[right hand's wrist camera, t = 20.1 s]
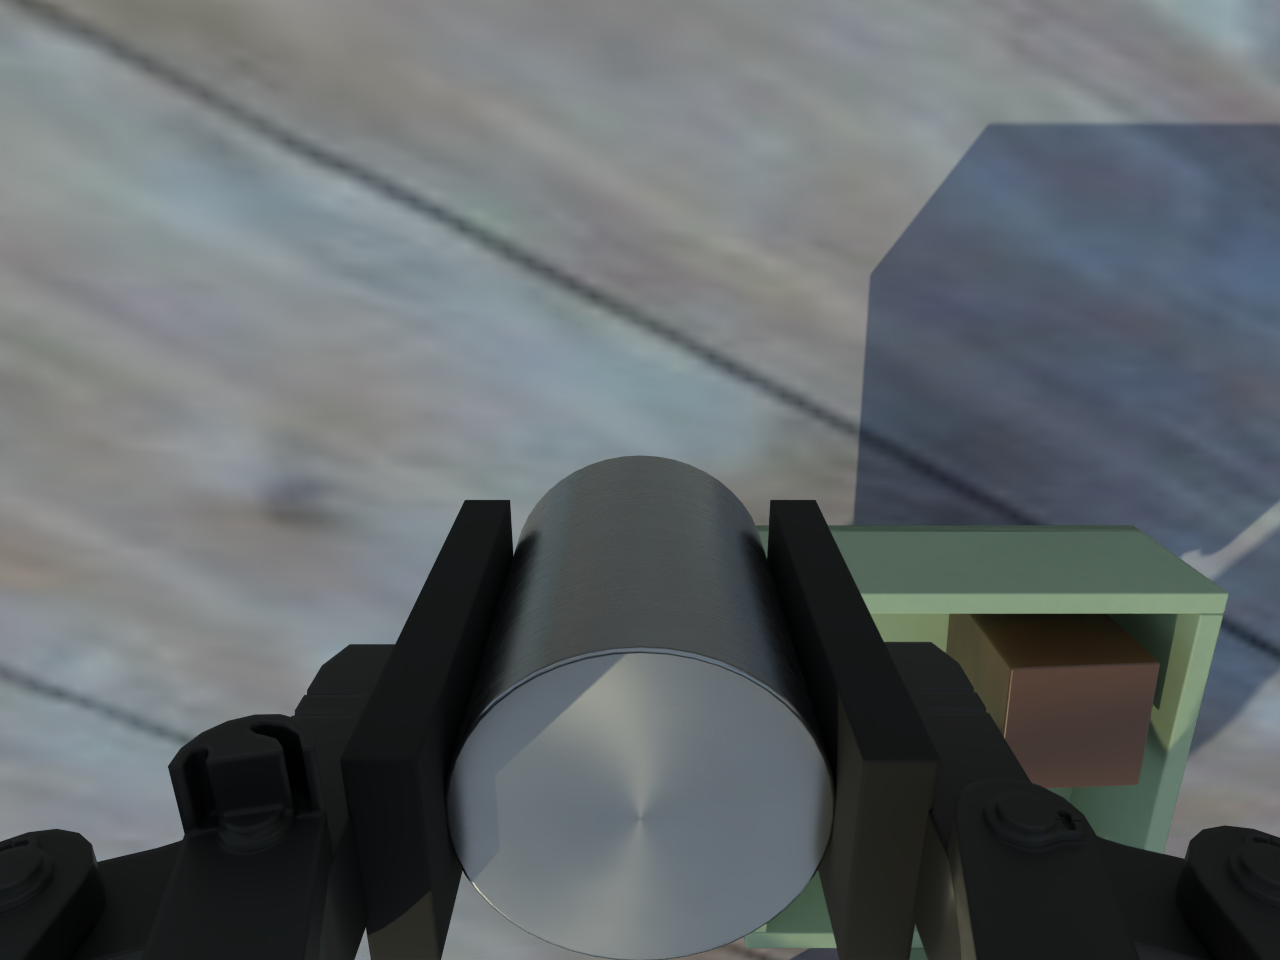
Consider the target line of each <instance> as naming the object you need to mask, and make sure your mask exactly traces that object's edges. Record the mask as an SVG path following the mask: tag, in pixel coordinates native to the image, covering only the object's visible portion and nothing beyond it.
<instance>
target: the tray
mask: <svg viewBox="0 0 1280 960" xmlns="http://www.w3.org/2000/svg"><path fill="white" fill-rule="evenodd" d="M756 527H757V529H758V532H759V535H760V538H761V541H762V545H763V548H764V551H765V554H766V558H767V550H768V533H769V526H756ZM828 527H829V529H830V531H831V533H832V535H833V538H834V540H835V542H836V544H837V546H838V548H839V550H840V552H841V554H842V556H843V558H844V560H845V562H846V564H847V567H848V569H849V571H850V573H851V575H852V577H853V579H854V581H855V583H856V585H857V587H858V589H859V591H860V593H861V596H862V598H863V600H864V602H865V604H866V606H867V608H868V610H869V612H870V614H871V616H872V618H873V620H874V622H875V625H876V627H877V629H878V631H879V633H880V635H881V637H882V639H883V641H884V642H932V643H933V644H935V645H936V646H937V647H938V648H940V649H941V650H942V651H944V652H945V653H946V648H947V636H948V625H949V614H1108V615H1109V616H1110V617H1111V618H1112V619H1114V620H1115V621H1116V622H1117V623H1118V624H1119V625H1120V626H1121V627H1122V628H1123V629H1124V630H1125V631H1126V632H1127V633H1128V634H1130V635H1131V636H1132V637H1133V638H1134V639H1135V640H1136V641H1137V642H1138V643H1139V644H1140V645H1141V646H1142V647H1143V648H1144V649H1146V650H1147V651H1148V652H1149V653H1150V654H1151V655H1152V656H1153V657H1154V658H1155V659H1156V660H1157V661H1158V662H1159V663H1160V667H1159V673H1158V679H1157V684H1156V690H1155V695H1154V701H1153V706H1152V712H1151V717H1150V723H1149V728H1148V734H1147V739H1146V745H1145V750H1144V756H1143V762H1142V767H1141V773H1140V778H1139V784H1138V785H1129V786H1100V787H1072V788H1046V789H1048V790H1050V791H1052V792H1054V793H1056V794H1058V795H1060V796H1062V797H1064V798H1065V799H1066V800H1067V801H1068V802H1070V803H1071V804H1072V805H1073V806H1074V807H1075V808H1077V809H1078V810H1079V811H1080V812H1081V813H1083V814H1084V816H1085V817H1086V819H1087V821H1088V822H1089V824H1090V826H1091V827H1092V829H1093V830H1094V832H1095V834H1096V836H1098V837H1101V838H1103V839H1107V840H1110V841H1113V842H1116V843H1120V844H1123V845H1127V846H1131V847H1135V848H1140V849H1144V850H1148V851H1153V852H1157V853H1161V854H1164V850H1165V846H1166V842H1167V838H1168V834H1169V830H1170V826H1171V822H1172V818H1173V814H1174V810H1175V806H1176V802H1177V798H1178V794H1179V790H1180V786H1181V782H1182V778H1183V774H1184V770H1185V766H1186V762H1187V758H1188V754H1189V750H1190V746H1191V742H1192V738H1193V734H1194V730H1195V726H1196V722H1197V718H1198V714H1199V710H1200V706H1201V702H1202V698H1203V694H1204V690H1205V686H1206V682H1207V678H1208V674H1209V670H1210V666H1211V662H1212V658H1213V654H1214V650H1215V646H1216V642H1217V638H1218V634H1219V631H1220V627H1221V623H1222V619H1223V614H1222V613H1224V611H1225V607H1226V603H1227V599H1228V595H1229V593H1228V592H1227V591H1225V590H1224V589H1222V588H1221V587H1219V586H1218V585H1217V584H1215V583H1214V582H1212V581H1211V580H1210V579H1208V578H1207V577H1205V576H1204V575H1203V574H1201V573H1200V572H1198V571H1197V570H1196V569H1194V568H1193V567H1191V566H1190V565H1189V564H1187V563H1186V562H1184V561H1183V560H1181V559H1180V558H1179V557H1177V556H1176V555H1174V554H1173V553H1172V552H1170V551H1169V550H1167V549H1166V548H1165V547H1163V546H1162V545H1160V544H1159V543H1158V542H1156V541H1155V540H1153V539H1152V538H1150V537H1149V536H1148V535H1146V534H1145V533H1143V532H1142V531H1141V530H1139V529H1138V528H1136V527H1135V526H1133V525H842V526H828ZM744 939H745V946H746V948H837V947H836V942H835V938H834V934H833V930H832V926H831V922H830V918H829V914H828V909H827V905H826V901H825V897H824V893H823V889H822V885H821V881H820V876H819V872H818V870H817V872H816V874H815V876H814V877H813V878H812V880H811V881H810V882H809V884H808V885H807V886H806V888H805V889H804V890H803V892H802V893H801V894H800V895H799V896H798V897H797V898H796V899H795V900H794V901H793V902H792V903H791V904H790V905H789V906H788V907H787V908H786V909H785V910H784V911H782V912H781V913H780V914H779V915H777V916H776V917H775V918H774V919H772V920H771V921H770V922H768V923H767V924H765V925H763V926H762V927H760V928H759V929H757V930H755V931H754V932H752V933H750V934H748V935H746V936H744ZM910 960H928V959H927V956H926V953H925V950H924V948H923V945H922V942H921V939H920V936H919V933H918V930H917V928H916V925H915V928H914V934H913V941H912V947H911V954H910Z"/></svg>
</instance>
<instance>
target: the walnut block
mask: <svg viewBox="0 0 1280 960" xmlns="http://www.w3.org/2000/svg"><path fill="white" fill-rule="evenodd" d="M946 654H948V655H949V656H950V657H952V658H953V659H954V660H956V661H957V662H958V663H959V664H960V666H961V667H962V669H963V671H964V672H965V674H966V676H967V677H968V679H969V680H970V682H971V684H972V685H973V687H974V692H977V694H978V695H979V697H980V699H981V700H982V702H983V704H984V705H985V707H986V713H990V715H991V717H992V718H993V720H994V722H995V723H996V725H997V727H998V728H999V730H1000V732H1001V733H1002V735H1003V737H1004V738H1005V740H1006V741H1007V743H1008V745H1009V746H1010V748H1011V750H1012V751H1013V753H1014V755H1015V756H1016V758H1017V760H1018V761H1019V763H1020V765H1021V766H1022V768H1023V770H1024V771H1025V773H1026V774H1027V776H1028V778H1029V779H1030V781H1031V783H1033V784H1037V785H1040V786H1042V787H1044V788H1072V787H1100V786H1129V785H1138V784H1139V778H1140V773H1141V767H1142V762H1143V756H1144V750H1145V745H1146V739H1147V734H1148V728H1149V723H1150V717H1151V712H1152V706H1153V701H1154V695H1155V690H1156V684H1157V679H1158V673H1159V667H1160V663H1159V662H1158V661H1157V660H1156V659H1155V658H1154V657H1153V656H1152V655H1151V654H1150V653H1149V652H1148V651H1147V650H1146V649H1144V648H1143V647H1142V646H1141V645H1140V644H1139V643H1138V642H1137V641H1136V640H1135V639H1134V638H1133V637H1132V636H1131V635H1130V634H1128V633H1127V632H1126V631H1125V630H1124V629H1123V628H1122V627H1121V626H1120V625H1119V624H1118V623H1117V622H1116V621H1115V620H1114V619H1112V618H1111V617H1110V616H1109V615H1108V614H949V625H948V636H947V648H946Z"/></svg>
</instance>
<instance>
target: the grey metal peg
mask: <svg viewBox="0 0 1280 960" xmlns="http://www.w3.org/2000/svg"><path fill="white" fill-rule="evenodd" d="M444 798H445V811H446V821H447V830H448V837H449V840H450V843H451V845H452V848H453V851H454V854H455V857H456V859H457V861H458V862H459V864H460V866H461V868H462V870H463V872H464V874H465V875H466V877H467V878H468V879H469V881H470V882H471V884H472V885H473V886H474V888H475V889H476V890H477V892H478V893H479V894H480V895H481V896H482V897H483V898H484V899H485V900H486V901H487V902H488V903H489V904H490V905H491V906H492V907H493V908H494V909H495V910H496V911H498V912H499V913H500V914H501V915H503V916H504V917H505V918H506V919H508V920H509V921H510V922H512V923H513V924H515V925H517V926H518V927H520V928H521V929H523V930H525V931H526V932H528V933H530V934H532V935H534V936H536V937H538V938H540V939H542V940H544V941H546V942H548V943H551V944H554V945H556V946H559V947H562V948H565V949H568V950H570V951H574V952H578V953H582V954H586V955H590V956H595V957H602V958H609V959H616V960H664V959H671V958H678V957H685V956H690V955H694V954H698V953H702V952H706V951H710V950H712V949H715V948H718V947H721V946H724V945H726V944H729V943H732V942H734V941H736V940H738V939H740V938H742V937H744V936H746V935H748V934H750V933H752V932H754V931H755V930H757V929H759V928H760V927H762V926H763V925H765V924H767V923H768V922H770V921H771V920H772V919H774V918H775V917H776V916H777V915H779V914H780V913H781V912H782V911H784V910H785V909H786V908H787V907H788V906H789V905H790V904H791V903H792V902H793V901H794V900H795V899H796V898H797V897H798V896H799V895H800V894H801V893H802V892H803V890H804V889H805V888H806V886H807V885H808V884H809V882H810V881H811V880H812V878H813V877H814V876H815V874H816V872H817V870H818V868H819V866H820V865H821V863H822V861H823V859H824V857H825V854H826V852H827V849H828V846H829V843H830V840H831V838H832V832H833V825H834V816H835V805H836V789H835V782H834V775H833V771H832V768H831V765H830V761H829V758H828V755H827V752H826V748H825V745H824V742H823V739H822V736H821V732H820V729H819V726H818V723H817V719H816V716H815V713H814V710H813V706H812V703H811V700H810V697H809V693H808V690H807V687H806V684H805V681H804V677H803V674H802V671H801V668H800V664H799V661H798V658H797V655H796V651H795V648H794V645H793V642H792V638H791V635H790V632H789V629H788V626H787V622H786V619H785V616H784V613H783V609H782V606H781V603H780V600H779V596H778V593H777V590H776V587H775V583H774V580H773V577H772V574H771V570H770V567H769V564H768V561H767V558H766V554H765V551H764V548H763V545H762V541H761V538H760V535H759V532H758V529H757V527H756V525H755V523H754V521H753V519H752V517H751V515H750V514H749V512H748V511H747V509H746V508H745V506H744V505H743V503H742V502H741V501H740V500H739V499H738V498H737V497H736V496H735V495H734V493H733V492H732V491H731V490H729V489H728V488H727V487H726V486H725V485H723V484H722V483H721V482H720V481H718V480H717V479H715V478H714V477H712V476H711V475H709V474H707V473H706V472H704V471H702V470H700V469H697V468H695V467H693V466H691V465H688V464H685V463H682V462H679V461H676V460H672V459H667V458H661V457H653V456H626V457H619V458H613V459H608V460H604V461H601V462H598V463H595V464H591V465H589V466H587V467H584V468H582V469H580V470H578V471H576V472H574V473H572V474H571V475H569V476H568V477H566V478H564V479H563V480H561V481H560V482H559V483H558V484H556V485H555V486H554V487H553V488H552V489H550V490H549V491H548V492H547V493H546V494H545V495H544V496H543V498H542V499H541V500H540V501H539V502H538V503H537V505H536V506H535V507H534V509H533V510H532V512H531V513H530V515H529V516H528V518H527V520H526V523H525V525H524V527H523V529H522V531H521V534H520V537H519V540H518V544H517V547H516V550H515V553H514V557H513V560H512V563H511V566H510V570H509V573H508V576H507V579H506V583H505V586H504V589H503V593H502V596H501V599H500V602H499V606H498V609H497V612H496V615H495V619H494V622H493V625H492V628H491V632H490V635H489V638H488V642H487V645H486V648H485V651H484V655H483V658H482V661H481V664H480V668H479V671H478V674H477V677H476V681H475V684H474V687H473V690H472V694H471V697H470V700H469V704H468V707H467V710H466V713H465V717H464V720H463V723H462V726H461V730H460V733H459V736H458V739H457V743H456V746H455V749H454V753H453V756H452V759H451V762H450V766H449V769H448V772H447V777H446V784H445V791H444Z"/></svg>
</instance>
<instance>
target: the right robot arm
mask: <svg viewBox="0 0 1280 960" xmlns="http://www.w3.org/2000/svg"><path fill="white" fill-rule="evenodd" d="M512 560H513V543H512V526H511V509H510V500H465V501H464V503H463V505H462V507H461V509H460V512H459V514H458V516H457V518H456V520H455V522H454V524H453V526H452V528H451V530H450V532H449V534H448V536H447V539H446V541H445V543H444V545H443V547H442V549H441V551H440V553H439V555H438V557H437V559H436V561H435V563H434V565H433V568H432V570H431V572H430V574H429V576H428V578H427V580H426V582H425V584H424V586H423V588H422V590H421V592H420V594H419V597H418V599H417V601H416V603H415V605H414V607H413V609H412V611H411V613H410V615H409V617H408V619H407V621H406V624H405V626H404V628H403V630H402V632H401V634H400V636H399V638H398V640H397V642H396V644H350V645H348V646H347V647H346V648H344V649H343V650H342V651H341V652H339V653H338V654H337V655H335V656H334V657H333V658H331V659H330V660H329V661H327V662H326V663H325V664H324V665H322V667H321V668H320V670H319V672H318V673H317V675H316V677H315V678H314V680H313V681H312V683H311V685H310V686H309V688H308V690H307V695H304V696H303V698H302V700H301V701H300V703H299V705H298V706H297V708H296V710H295V716H291V717H288V716H285V715H281V714H264V715H251V716H247V717H243V718H239V719H234V720H230V721H227V722H224V723H222V724H220V725H218V726H216V727H213V728H211V729H209V730H207V731H204V732H202V733H201V734H199V735H198V736H197V737H195V738H194V739H193V740H191V741H190V742H189V743H187V744H186V745H185V746H183V747H182V748H181V749H180V750H179V752H178V753H177V754H176V756H175V757H174V759H173V760H172V761H171V763H170V764H169V766H168V768H169V772H170V776H171V780H172V784H173V789H174V793H175V797H176V801H177V805H178V809H179V813H180V817H181V821H182V825H183V829H184V833H185V835H184V838H183V840H181V841H179V842H175V843H172V844H169V845H166V846H162V847H159V848H156V849H151V850H147V851H143V852H138V853H134V854H130V855H126V856H121V857H117V858H113V859H108V860H104V861H100V862H97V860H96V857H95V854H94V850H93V847H92V844H91V843H90V842H89V841H87V840H86V839H85V838H84V837H83V836H82V835H81V834H80V833H76V832H71V831H65V830H60V829H52V830H44V831H35V832H28V833H25V834H22V835H19V836H16V837H13V838H10V839H7V840H4V841H1V842H0V960H354V959H355V956H356V953H357V951H358V948H359V945H360V942H361V939H362V936H363V933H364V930H365V928H366V931H367V937H368V943H369V950H370V956H371V960H441V957H442V953H443V949H444V945H445V941H446V936H447V932H448V928H449V924H450V920H451V916H452V912H453V907H454V903H455V899H456V895H457V891H458V887H459V883H460V879H461V874H462V868H461V866H460V864H459V862H458V861H457V859H456V857H455V854H454V851H453V848H452V845H451V843H450V840H449V837H448V830H447V821H446V811H445V798H444V791H445V784H446V777H447V772H448V769H449V766H450V762H451V759H452V756H453V753H454V749H455V746H456V743H457V739H458V736H459V733H460V730H461V726H462V723H463V720H464V717H465V713H466V710H467V707H468V704H469V700H470V697H471V694H472V690H473V687H474V684H475V681H476V677H477V674H478V671H479V668H480V664H481V661H482V658H483V655H484V651H485V648H486V645H487V642H488V638H489V635H490V632H491V628H492V625H493V622H494V619H495V615H496V612H497V609H498V606H499V602H500V599H501V596H502V593H503V589H504V586H505V583H506V579H507V576H508V573H509V570H510V566H511V563H512ZM767 561H768V564H769V567H770V570H771V574H772V577H773V580H774V583H775V587H776V590H777V593H778V596H779V600H780V603H781V606H782V609H783V613H784V616H785V619H786V622H787V626H788V629H789V632H790V635H791V638H792V642H793V645H794V648H795V651H796V655H797V658H798V661H799V664H800V668H801V671H802V674H803V677H804V681H805V684H806V687H807V690H808V693H809V697H810V700H811V703H812V706H813V710H814V713H815V716H816V719H817V723H818V726H819V729H820V732H821V736H822V739H823V742H824V745H825V748H826V752H827V755H828V758H829V761H830V765H831V768H832V771H833V775H834V782H835V789H836V805H835V816H834V825H833V832H832V838H831V840H830V843H829V846H828V849H827V852H826V854H825V857H824V859H823V861H822V863H821V865H820V866H819V868H818V872H819V876H820V881H821V885H822V889H823V893H824V897H825V901H826V905H827V909H828V914H829V918H830V922H831V926H832V930H833V934H834V938H835V942H836V947H837V951H838V955H839V959H840V960H910V954H911V947H912V941H913V934H914V928H915V925H916V928H917V930H918V933H919V936H920V939H921V942H922V945H923V948H924V950H925V953H926V956H927V959H928V960H1280V838H1279V837H1276V836H1273V835H1270V834H1267V833H1264V832H1261V831H1258V830H1255V829H1250V828H1241V827H1233V826H1220V827H1214V828H1209V829H1203V830H1202V831H1201V832H1200V833H1198V834H1197V835H1196V836H1195V837H1194V838H1193V839H1192V840H1190V843H1189V846H1188V849H1187V853H1186V856H1185V859H1183V858H1178V857H1174V856H1170V855H1165V854H1161V853H1157V852H1153V851H1148V850H1144V849H1140V848H1135V847H1131V846H1127V845H1123V844H1120V843H1116V842H1113V841H1110V840H1107V839H1103V838H1101V837H1098V836H1096V834H1095V832H1094V830H1093V829H1092V827H1091V826H1090V824H1089V822H1088V821H1087V819H1086V817H1085V816H1084V814H1083V813H1081V812H1080V811H1079V810H1078V809H1077V808H1075V807H1074V806H1073V805H1072V804H1071V803H1070V802H1068V801H1067V800H1066V799H1065V798H1064V797H1062V796H1060V795H1058V794H1056V793H1054V792H1052V791H1050V790H1048V789H1046V788H1044V787H1042V786H1040V785H1037V784H1033V783H1031V781H1030V779H1029V778H1028V776H1027V774H1026V773H1025V771H1024V770H1023V768H1022V766H1021V765H1020V763H1019V761H1018V760H1017V758H1016V756H1015V755H1014V753H1013V751H1012V750H1011V748H1010V746H1009V745H1008V743H1007V741H1006V740H1005V738H1004V737H1003V735H1002V733H1001V732H1000V730H999V728H998V727H997V725H996V723H995V722H994V720H993V718H992V717H991V715H990V713H986V707H985V705H984V704H983V702H982V700H981V699H980V697H979V695H978V694H977V692H974V687H973V685H972V684H971V682H970V680H969V679H968V677H967V676H966V674H965V672H964V671H963V669H962V667H961V666H960V664H959V663H958V662H957V661H956V660H954V659H953V658H952V657H950V656H949V655H948V654H946V653H945V652H944V651H942V650H941V649H940V648H938V647H937V646H936V645H935V644H933V643H932V642H884V641H883V639H882V637H881V635H880V633H879V631H878V629H877V627H876V625H875V622H874V620H873V618H872V616H871V614H870V612H869V610H868V608H867V606H866V604H865V602H864V600H863V598H862V596H861V593H860V591H859V589H858V587H857V585H856V583H855V581H854V579H853V577H852V575H851V573H850V571H849V569H848V567H847V564H846V562H845V560H844V558H843V556H842V554H841V552H840V550H839V548H838V546H837V544H836V542H835V540H834V538H833V535H832V533H831V531H830V529H829V527H828V525H827V523H826V521H825V519H824V517H823V515H822V513H821V511H820V509H819V506H818V504H817V502H816V500H770V517H769V533H768V550H767Z"/></svg>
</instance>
